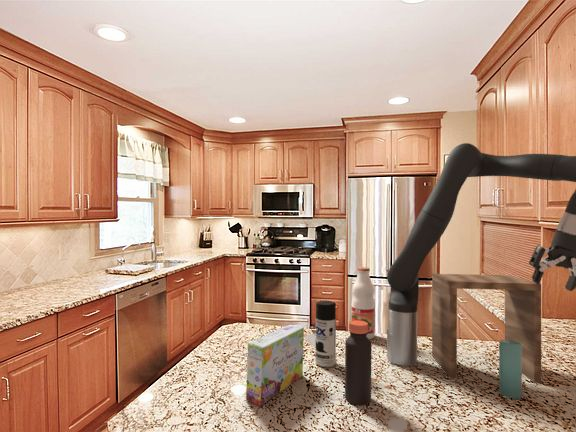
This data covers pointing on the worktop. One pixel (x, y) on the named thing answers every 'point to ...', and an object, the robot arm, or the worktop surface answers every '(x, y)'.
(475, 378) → the worktop surface
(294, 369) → the snack box
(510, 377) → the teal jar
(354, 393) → the bottle
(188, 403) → the worktop surface
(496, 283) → the walnut shelf
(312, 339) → the kitchen cleaver
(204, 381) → the worktop surface
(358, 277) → the fruit juice
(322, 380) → the worktop surface
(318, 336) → the spray can
